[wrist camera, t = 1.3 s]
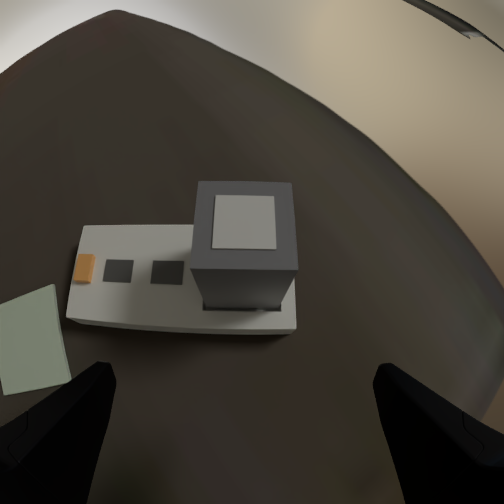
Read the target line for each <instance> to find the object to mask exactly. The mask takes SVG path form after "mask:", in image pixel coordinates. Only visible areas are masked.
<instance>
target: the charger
mask: <svg viewBox="0 0 504 504" xmlns="http://www.w3.org/2000/svg"><path fill="white" fill-rule="evenodd" d="M190 270H191V272H192V275H193V277H194V280H195V282H196V284H197V287H198V289H199V291H200V294H201V296H202V298H203V301H204V303H205V305H206V307H218V308H279V306H280V304H281V302H282V300H283V298H284V296H285V295H286V293H287V291H288V289H289V287H290V285H291V283H292V281H293V279H294V277H295V275H296V273H297V271H298V257H297V243H296V230H295V217H294V205H293V194H292V184H291V183H283V182H251V181H199V182H198V191H197V199H196V208H195V217H194V227H193V237H192V248H191V260H190Z"/></svg>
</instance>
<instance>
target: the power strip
mask: <svg viewBox="0 0 504 504" xmlns="http://www.w3.org/2000/svg"><path fill="white" fill-rule="evenodd" d="M193 227H194V225H94V226H84V228H83V232H82V236H81V240H80V244H79V248H78V252H77V257H76V261H75V266H74V271H73V276H72V281H71V287H70V293H69V299H68V305H67V312H66V317H67V318H69V319H71V320H74V321H76V322H78V323H80V324H88V325H96V326H105V327H115V328H125V329H136V330H149V331H163V332H180V333H202V334H244V335H271V334H291V333H292V332H293V331H295V330H296V308H295V287H294V279H293V281H292V283H291V285H290V287H289V289H288V291H287V293H286V295H285V296H284V298H283V300H282V302H281V304H280V306H279V308H218V307H206V305H205V303H204V301H203V298H202V296H201V294H200V291H199V289H198V287H197V284H196V282H195V280H194V277H193V275H192V272H191V270H190V260H191V248H192V237H193Z"/></svg>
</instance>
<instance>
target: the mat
mask: <svg viewBox="0 0 504 504" xmlns="http://www.w3.org/2000/svg"><path fill="white" fill-rule="evenodd" d="M0 378H1V383H2V388H3V393H4V395H11V394H17V393H22V392H28V391H33V390H38V389H43V388H48V387H52V386H57V385H61V384H66V383H67V382H69V381H70V380H71V375H70V371H69V367H68V362H67V358H66V353H65V348H64V343H63V338H62V333H61V327H60V321H59V314H58V307H57V299H56V291H55V285H54V284H51V285H49V286H46V287H43V288H41V289H38V290H36V291H33V292H31V293H28V294H26V295H23V296H21V297H18V298H16V299H13V300H11V301H8V302H6V303H3V304H1V305H0Z"/></svg>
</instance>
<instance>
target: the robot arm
mask: <svg viewBox="0 0 504 504" xmlns="http://www.w3.org/2000/svg"><path fill="white" fill-rule="evenodd" d="M115 389H116V378H115V375H114V372H113V369H112V366H111V364H110V363H109V362H105V361H97V362H96V363H94V364H93V365H92V366H90V367H89V368H87V369H86V370H84V371H83V372H82V373H80V374H79V375H77V376H76V377H74V378H73V379H71V380H70V381H69V382H67V383H66V384H64V385H63V386H61V387H60V388H59V389H57V390H56V391H54V392H53V393H51V394H50V395H49V396H47V397H46V398H44V399H43V400H41V401H40V402H38V403H37V404H36V405H34V406H33V407H31V408H30V409H29V410H28V411H25V412H24V413H23V414H21V415H20V416H18V417H17V418H15V419H14V420H12V421H11V422H9V423H7V424H5V425H4V426H2V427H0V504H86V503H87V499H88V495H89V491H90V487H91V483H92V479H93V475H94V471H95V468H96V464H97V461H98V457H99V453H100V450H101V447H102V443H103V440H104V436H105V433H106V430H107V427H108V423H109V419H110V414H111V409H112V404H113V399H114V394H115ZM373 389H374V394H375V398H376V403H377V407H378V412H379V417H380V421H381V424H382V428H383V431H384V434H385V437H386V440H387V443H388V446H389V449H390V452H391V456H392V459H393V462H394V465H395V469H396V472H397V475H398V479H399V482H400V486H401V489H402V493H403V496H404V500H405V504H504V434H502V433H500V432H498V431H496V430H494V429H492V428H490V427H488V426H487V425H485V424H483V423H481V422H480V421H478V420H476V419H475V418H473V417H472V416H470V415H468V414H467V413H465V412H464V411H462V410H461V409H459V408H458V407H456V406H455V405H453V404H452V403H450V402H449V401H447V400H446V399H444V398H443V397H441V396H440V395H438V394H437V393H435V392H434V391H432V390H431V389H429V388H428V387H426V386H425V385H423V384H422V383H420V382H419V381H417V380H416V379H414V378H413V377H412V376H410V375H409V374H407V373H406V372H404V371H403V370H401V369H400V368H398V367H397V366H395V365H394V364H392V363H384V364H380V365H379V367H378V369H377V372H376V375H375V377H374V380H373Z"/></svg>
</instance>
